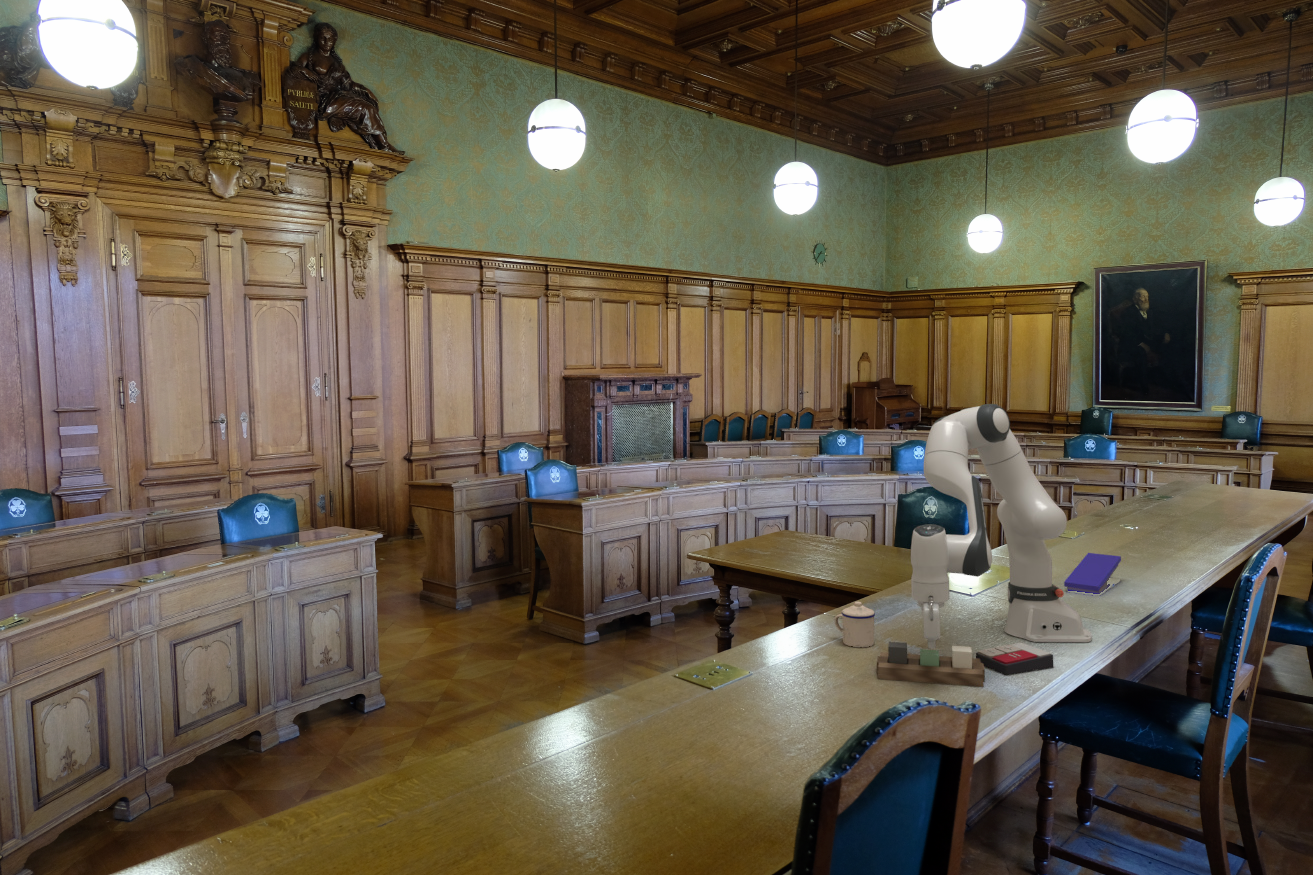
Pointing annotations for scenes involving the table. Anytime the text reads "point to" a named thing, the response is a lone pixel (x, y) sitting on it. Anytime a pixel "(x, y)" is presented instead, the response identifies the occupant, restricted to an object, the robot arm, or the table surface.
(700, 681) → the table surface
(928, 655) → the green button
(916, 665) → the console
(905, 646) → the dark grey block
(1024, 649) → the push button box
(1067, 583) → the purple sloped board
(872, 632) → the teacup with lid
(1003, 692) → the table surface
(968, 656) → the cream white block
